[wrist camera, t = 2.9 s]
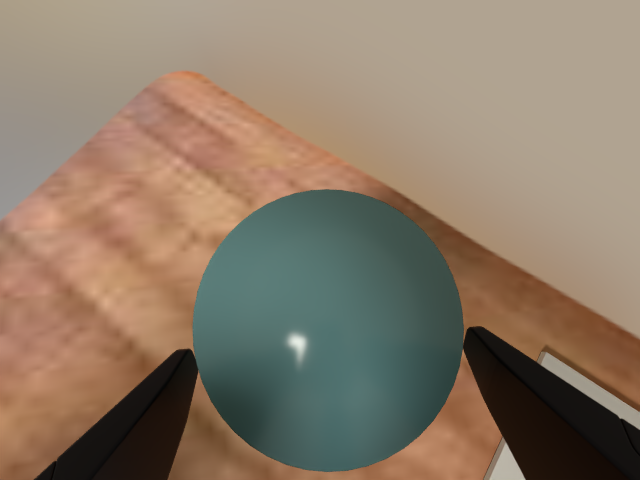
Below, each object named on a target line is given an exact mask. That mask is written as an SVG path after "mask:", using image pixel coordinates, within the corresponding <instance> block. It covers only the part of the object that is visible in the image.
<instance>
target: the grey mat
mask: <svg viewBox="0 0 640 480" xmlns="http://www.w3.org/2000/svg"><path fill="white" fill-rule="evenodd" d="M537 363H539V364H540V365H542V366H543V367H545V368H546V369H548V370H549V371H551V372H552V373H554V374H555V375H557V376H558V377H560V378H562V379H563V380H565V381H566V382H568V383H569V384H571V385H572V386H574V387H575V388H577V389H578V390H580V391H581V392H583V393H584V394H586V395H587V396H589V397H591V398H592V399H594V400H595V401H597V402H598V403H600V404H601V405H603V406H604V407H606V408H607V409H609V410H610V411H612V412H613V413H615V414H616V415H618V416H619V418H622V419H624V420H626V421H627V422H629V423H630V424H632V425H633V426H635V427H636V428H638V429H640V412H638V411H637V410H635V409H634V408H632V407H631V406H629V405H628V404H626V403H624V402H623V401H621V400H620V399H618V398H617V397H615V396H614V395H612V394H611V393H609V392H607V391H606V390H604V389H603V388H601V387H600V386H598V385H597V384H595V383H594V382H592V381H590V380H589V379H587V378H586V377H584V376H583V375H581V374H580V373H578V372H577V371H575V370H573V369H572V368H570V367H569V366H567V365H566V364H564V363H563V362H561V361H560V360H558V359H556V358H555V357H553V356H552V355H550V354H549V353H547V352H541V354H540V356H539V358H538V360H537ZM483 480H525V478H524V476H523V474H522V472H521V470H520V468H519V466H518V465H517V463H516V461H515V459H514V457H513V455H512V453H511V451H510V449H509V447H508V445H507V443H506V442H505V440H504V438H503V437H502V440H501V442H500V444H499V446H498V448H497V451H496V453H495V455H494V457H493V459H492V462H491V464H490V466H489V468H488V470H487V473H486V475H485V477H484V479H483Z"/></svg>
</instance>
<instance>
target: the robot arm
mask: <svg viewBox="0 0 640 480" xmlns="http://www.w3.org/2000/svg"><path fill="white" fill-rule="evenodd" d="M463 349H464V353H465V355H466V358H467V360H468V363H469V365H470V367H471V370H472V372H473V375H474V377H475V380H476V382H477V385H478V387H479V390H480V392H481V394H482V397H483V399H484V401H485V403H486V405H487V407H488V409H489V411H490V413H491V415H492V417H493V419H494V421H495V422H496V424H497V426H498V428H499V430H500V432H501V434H502V436H503V438H504V440H505V442H506V443H507V445H508V447H509V449H510V451H511V453H512V455H513V457H514V459H515V461H516V463H517V465H518V466H519V468H520V470H521V472H522V474H523V476H524V478H525V480H640V429H638V428H636V427H635V426H633V425H632V424H630V423H629V422H627V421H626V420H624V419H622V418H619V416H618V415H616V414H615V413H613V412H612V411H610V410H609V409H607V408H606V407H604V406H603V405H601V404H600V403H598V402H597V401H595V400H594V399H592V398H591V397H589V396H587V395H586V394H584V393H583V392H581V391H580V390H578V389H577V388H575V387H574V386H572V385H571V384H569V383H568V382H566V381H565V380H563V379H562V378H560V377H558V376H557V375H555V374H554V373H552V372H551V371H549V370H548V369H546V368H545V367H543V366H542V365H540V364H539V363H537V362H536V361H534V360H533V359H531V358H530V357H528V356H526V355H525V354H523V353H522V352H520V351H519V350H517V349H516V348H514V347H513V346H511V345H510V344H508V343H507V342H505V341H504V340H502V339H501V338H499V337H497V336H496V335H494V334H493V333H491V332H490V331H488V330H487V329H485V328H484V327H481V326H476V327H469V328H468V329H467V331H466V335H465V340H464V344H463ZM197 375H198V367H197V363H196V359H195V356H194V354H193V352H192V350H191V349H178V350H176V351H175V352H174V353H173V354H172V355H170V356H169V357H168V358H167V359H166V360H165V361H164V362H163V363H162V364H161V365H159V366H158V367H157V368H156V369H155V370H154V371H153V372H152V373H151V374H150V375H148V376H147V377H146V378H145V379H144V380H143V381H142V382H141V383H140V384H139V385H138V386H136V387H135V388H134V389H133V390H132V391H131V392H130V393H129V394H128V395H127V396H125V397H124V398H123V399H122V400H121V401H120V402H119V403H118V404H117V405H116V406H114V407H113V408H112V409H111V410H110V411H109V412H108V413H107V414H106V415H105V416H103V417H102V418H101V419H100V420H99V421H98V422H97V423H96V424H95V425H94V426H92V427H91V428H90V429H89V430H88V431H87V432H86V433H85V434H84V435H83V436H81V437H80V438H79V439H78V440H77V441H76V442H75V443H74V444H73V445H72V446H70V447H69V448H68V449H67V450H66V451H65V452H64V453H63V454H62V455H61V456H59V457H58V459H57V461H54V462H53V463H52V464H51V465H49V466H48V467H47V468H46V469H45V470H44V471H43V472H42V473H41V474H40V475H38V476H37V477H36V478H35V479H34V480H167V479H168V476H169V473H170V470H171V467H172V464H173V461H174V458H175V455H176V452H177V449H178V446H179V443H180V440H181V437H182V434H183V431H184V428H185V425H186V422H187V418H188V414H189V410H190V405H191V401H192V397H193V392H194V388H195V384H196V379H197Z"/></svg>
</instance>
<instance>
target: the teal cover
mask: <svg viewBox="0 0 640 480" xmlns="http://www.w3.org/2000/svg"><path fill="white" fill-rule="evenodd" d="M463 335H464V325H463V314H462V307H461V302H460V297H459V293H458V290H457V287H456V284H455V281H454V278H453V275H452V273H451V271H450V269H449V267H448V265H447V263H446V261H445V259H444V257H443V256H442V254H441V253H440V251H439V250H438V248H437V247H436V245H435V244H434V243H433V242H432V240H431V239H430V238H429V237H428V236H427V234H426V233H425V232H424V231H423V230H422V229H421V228H420V227H419V226H418V225H417V224H415V223H414V222H413V221H412V220H411V219H409V218H408V217H407V216H405V215H404V214H403V213H401V212H400V211H398V210H397V209H395V208H393V207H391V206H390V205H388V204H386V203H384V202H382V201H379V200H377V199H375V198H372V197H369V196H366V195H362V194H359V193H355V192H349V191H343V190H327V189H325V190H311V191H305V192H300V193H295V194H292V195H289V196H285V197H282V198H280V199H277V200H275V201H273V202H271V203H268V204H266V205H265V206H263V207H261V208H260V209H258V210H256V211H255V212H253V213H252V214H251V215H249V216H248V217H247V218H245V219H244V220H243V221H241V222H240V223H239V224H238V225H237V226H236V227H235V228H234V229H233V230H232V231H231V232H230V233H229V234H228V236H227V237H226V238H225V239H224V240H223V242H222V243H221V244H220V245H219V247H218V248H217V250H216V252H215V253H214V255H213V256H212V258H211V260H210V262H209V264H208V266H207V268H206V270H205V272H204V274H203V277H202V280H201V283H200V286H199V289H198V292H197V297H196V302H195V307H194V316H193V346H194V352H195V357H196V363H197V367H198V370H199V373H200V376H201V380H202V383H203V385H204V387H205V389H206V391H207V393H208V396H209V398H210V400H211V402H212V403H213V405H214V406H215V408H216V409H217V411H218V412H219V414H220V415H221V417H222V418H223V419H224V421H225V422H226V423H227V424H228V425H229V426H230V427H231V429H232V430H233V431H234V432H235V433H236V434H237V435H238V436H240V437H241V438H242V439H243V440H244V441H245V442H247V443H248V444H249V445H250V446H252V447H253V448H255V449H256V450H258V451H260V452H261V453H263V454H264V455H266V456H268V457H270V458H272V459H274V460H277V461H279V462H281V463H284V464H286V465H289V466H293V467H297V468H301V469H305V470H313V471H323V472H333V471H348V470H352V469H357V468H361V467H366V466H369V465H372V464H374V463H377V462H379V461H382V460H384V459H387V458H388V457H390V456H392V455H394V454H395V453H397V452H399V451H400V450H402V449H404V448H405V447H406V446H408V445H409V444H410V443H411V442H412V441H414V440H415V439H416V438H417V437H419V436H420V435H421V434H422V433H423V431H424V430H425V429H426V428H427V427H428V426H429V425H430V424H431V423H432V422H433V420H434V419H435V418H436V416H437V415H438V413H439V412H440V410H441V409H442V407H443V406H444V404H445V402H446V400H447V398H448V396H449V394H450V392H451V390H452V388H453V386H454V383H455V379H456V376H457V373H458V370H459V367H460V361H461V356H462V350H463Z"/></svg>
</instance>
